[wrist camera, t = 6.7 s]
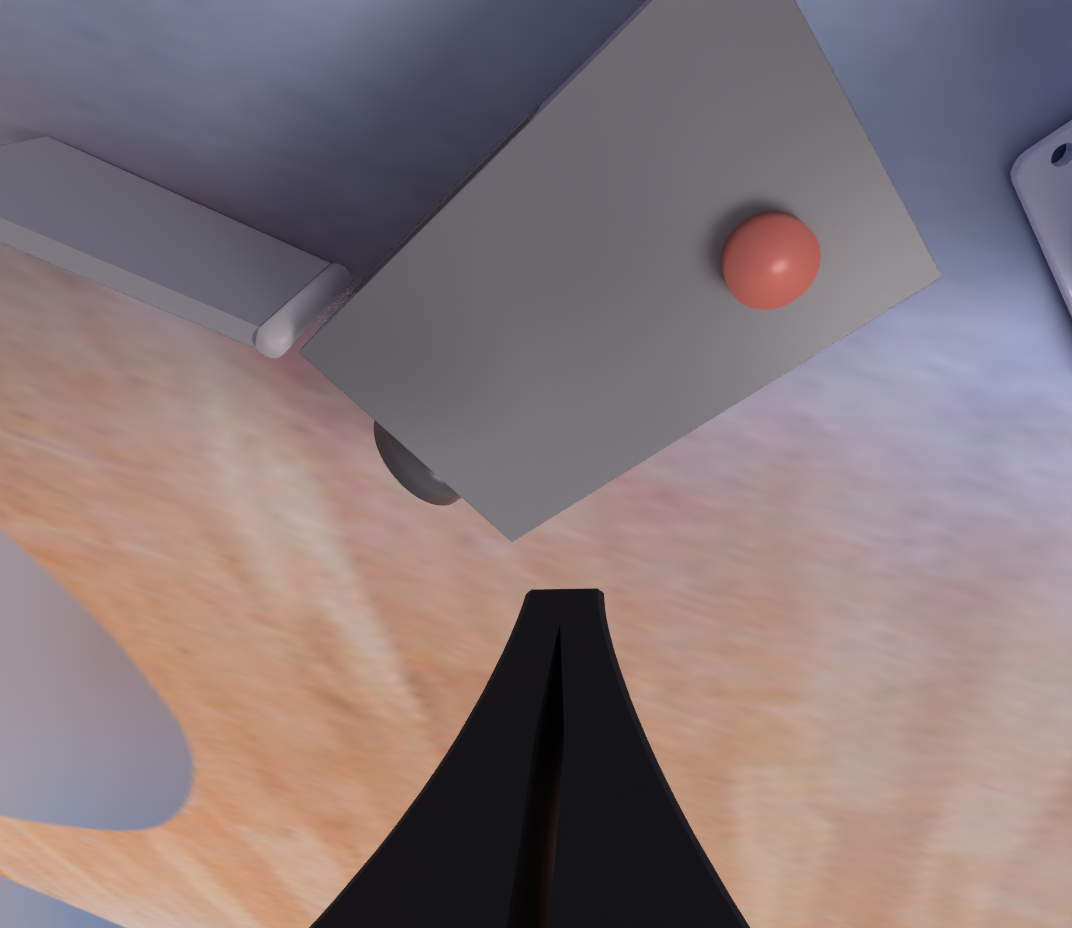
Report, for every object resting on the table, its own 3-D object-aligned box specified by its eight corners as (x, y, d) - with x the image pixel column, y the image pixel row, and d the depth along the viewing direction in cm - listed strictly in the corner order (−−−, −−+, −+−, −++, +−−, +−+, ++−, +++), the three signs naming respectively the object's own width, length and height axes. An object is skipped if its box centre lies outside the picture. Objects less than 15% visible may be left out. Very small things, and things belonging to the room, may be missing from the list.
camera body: (701, -61, 14) (751, -103, 9) (859, 216, 17) (956, 286, 12) (329, 311, 20) (248, 397, 15) (495, 468, 23) (470, 580, 18)
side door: (48, 175, 18) (-108, 217, 14) (47, 132, 17) (-118, 163, 13) (344, 305, 19) (279, 376, 15) (354, 270, 19) (289, 335, 15)
